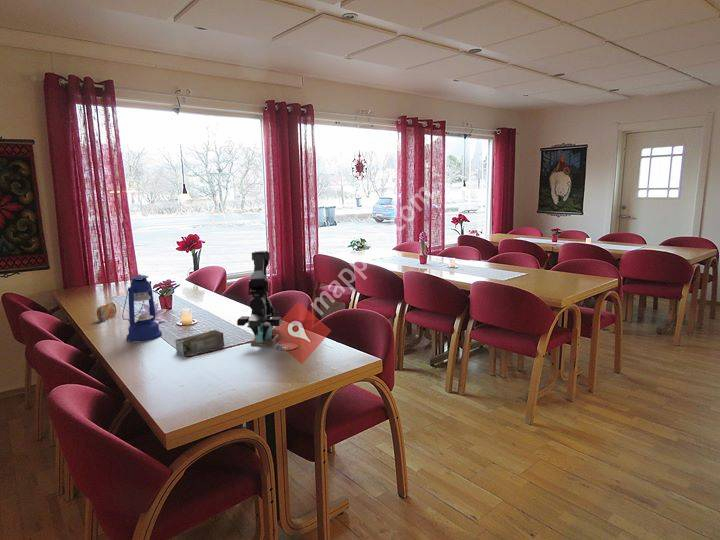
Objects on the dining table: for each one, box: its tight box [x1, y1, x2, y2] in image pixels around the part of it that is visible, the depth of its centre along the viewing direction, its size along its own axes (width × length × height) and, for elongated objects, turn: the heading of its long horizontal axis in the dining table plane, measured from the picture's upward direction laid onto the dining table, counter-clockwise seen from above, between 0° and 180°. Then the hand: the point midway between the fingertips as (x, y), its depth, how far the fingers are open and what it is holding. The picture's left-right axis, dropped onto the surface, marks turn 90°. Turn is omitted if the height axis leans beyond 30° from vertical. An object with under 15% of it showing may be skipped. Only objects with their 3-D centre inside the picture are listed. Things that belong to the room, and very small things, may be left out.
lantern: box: [122, 274, 162, 342], centre depth 216 cm, size 17×15×30 cm
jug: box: [254, 323, 273, 343], centre depth 206 cm, size 12×6×10 cm, turn 175°
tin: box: [96, 302, 117, 322], centre depth 250 cm, size 15×3×8 cm, turn 179°
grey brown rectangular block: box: [174, 329, 225, 357], centre depth 200 cm, size 8×19×7 cm, turn 136°
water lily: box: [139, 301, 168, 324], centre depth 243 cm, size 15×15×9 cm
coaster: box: [276, 342, 291, 351], centre depth 201 cm, size 9×9×1 cm
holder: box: [250, 334, 280, 346], centre depth 209 cm, size 10×10×2 cm
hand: (260, 340), depth 203 cm, fingers closed on jug, 3 cm apart
